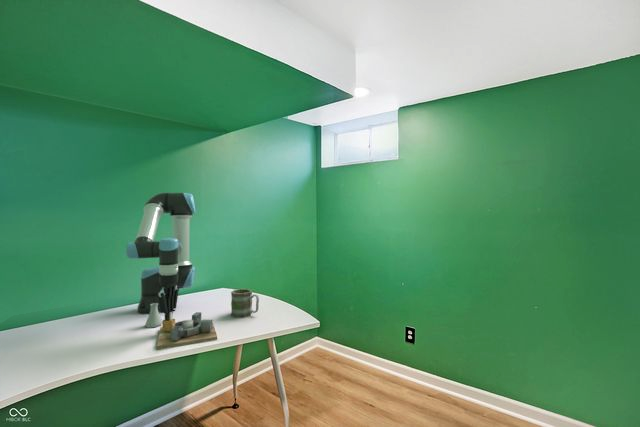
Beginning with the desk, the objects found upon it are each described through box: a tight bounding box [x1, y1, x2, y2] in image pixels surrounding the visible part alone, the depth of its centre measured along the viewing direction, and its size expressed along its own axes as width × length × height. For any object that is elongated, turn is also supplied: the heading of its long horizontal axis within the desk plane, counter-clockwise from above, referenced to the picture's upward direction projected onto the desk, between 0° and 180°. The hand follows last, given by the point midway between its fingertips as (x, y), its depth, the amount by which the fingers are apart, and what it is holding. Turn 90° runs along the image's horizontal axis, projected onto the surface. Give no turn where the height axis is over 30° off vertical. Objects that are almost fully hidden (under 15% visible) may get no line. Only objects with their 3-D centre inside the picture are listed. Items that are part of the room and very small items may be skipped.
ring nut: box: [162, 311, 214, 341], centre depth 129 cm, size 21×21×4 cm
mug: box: [230, 288, 260, 319], centre depth 155 cm, size 16×11×12 cm
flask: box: [144, 303, 163, 329], centre depth 140 cm, size 7×7×10 cm
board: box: [156, 319, 218, 351], centre depth 129 cm, size 22×22×6 cm
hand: (168, 326), depth 131 cm, fingers closed
